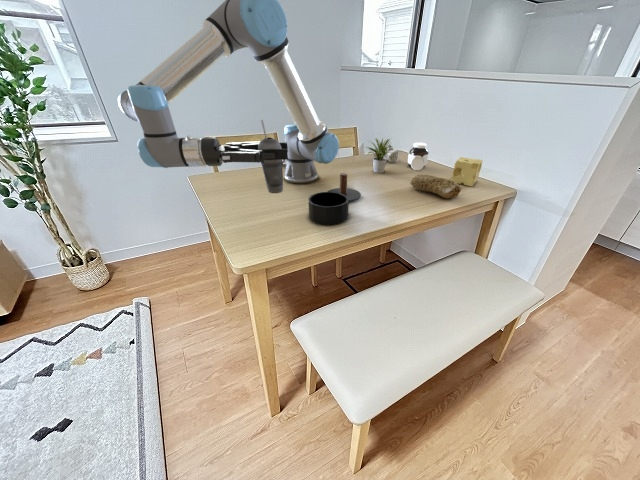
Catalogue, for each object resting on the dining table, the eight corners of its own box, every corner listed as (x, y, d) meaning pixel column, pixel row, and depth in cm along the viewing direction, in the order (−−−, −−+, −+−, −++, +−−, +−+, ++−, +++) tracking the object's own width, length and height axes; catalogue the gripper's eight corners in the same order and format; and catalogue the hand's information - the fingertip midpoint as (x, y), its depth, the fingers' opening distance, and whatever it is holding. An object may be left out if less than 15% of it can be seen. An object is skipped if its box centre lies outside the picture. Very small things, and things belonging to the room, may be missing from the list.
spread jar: (420, 164, 155) (423, 141, 148) (432, 169, 146) (437, 146, 140) (401, 165, 151) (404, 143, 144) (413, 171, 142) (417, 148, 136)
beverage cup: (281, 196, 84) (272, 123, 72) (259, 193, 85) (247, 121, 73) (290, 187, 90) (283, 119, 78) (269, 185, 91) (259, 117, 79)
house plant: (374, 165, 151) (377, 132, 141) (397, 170, 144) (401, 136, 135) (360, 171, 141) (361, 136, 132) (383, 176, 135) (387, 140, 125)
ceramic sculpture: (391, 148, 146) (373, 144, 157) (389, 164, 151) (372, 160, 161) (405, 146, 152) (387, 142, 162) (403, 162, 156) (386, 158, 167)
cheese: (472, 187, 126) (479, 164, 120) (449, 182, 130) (454, 160, 124) (477, 181, 133) (483, 159, 127) (454, 176, 138) (460, 155, 132)
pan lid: (324, 190, 117) (323, 169, 112) (357, 189, 119) (357, 168, 114) (327, 204, 105) (327, 180, 100) (364, 202, 108) (365, 179, 102)
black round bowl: (308, 209, 101) (307, 192, 97) (344, 207, 103) (344, 191, 99) (310, 226, 90) (309, 208, 86) (351, 224, 92) (351, 206, 89)
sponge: (460, 199, 116) (428, 176, 127) (466, 183, 110) (431, 161, 121) (437, 210, 112) (405, 186, 123) (441, 194, 106) (408, 170, 117)
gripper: (189, 146, 67) (285, 144, 71) (209, 130, 83) (286, 130, 87) (198, 177, 72) (288, 174, 75) (215, 156, 88) (289, 155, 91)
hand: (287, 150), depth 81 cm, fingers closed on beverage cup, 7 cm apart
